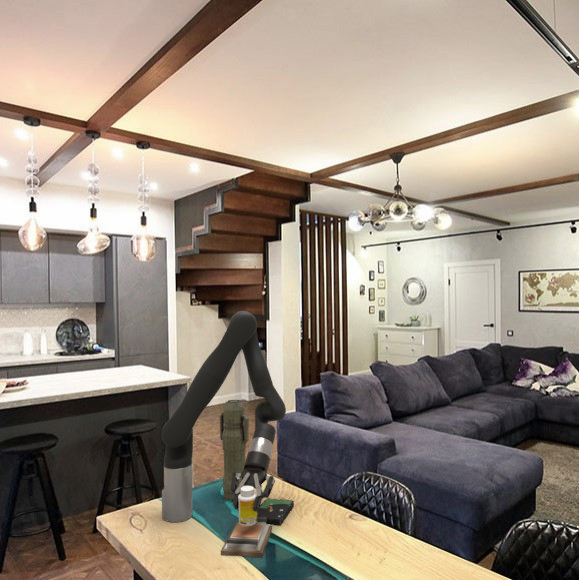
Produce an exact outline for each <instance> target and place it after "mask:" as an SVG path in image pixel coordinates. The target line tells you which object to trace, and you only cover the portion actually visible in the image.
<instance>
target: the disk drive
mask: <svg viewBox="0 0 579 580" xmlns="http://www.w3.org/2000/svg"><path fill="white" fill-rule="evenodd" d="M294 502H295V501H294V500H291V499H283V498H282V499H281V498H279V499H276V498H270V497H268V498H265V499H264V500H263V502H261V505H260V509H259V510H258V511H257V517H267V522H266V525H268V524H270V525H269V526H277V527H281V526H282V525H283V524H284V522H285V520H286V519H287V517H288V516H289V515H290V513H291V512H292V511H293V509H294V505H295V503H294ZM290 511H291V512H290ZM288 514H289V515H288Z"/></svg>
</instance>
